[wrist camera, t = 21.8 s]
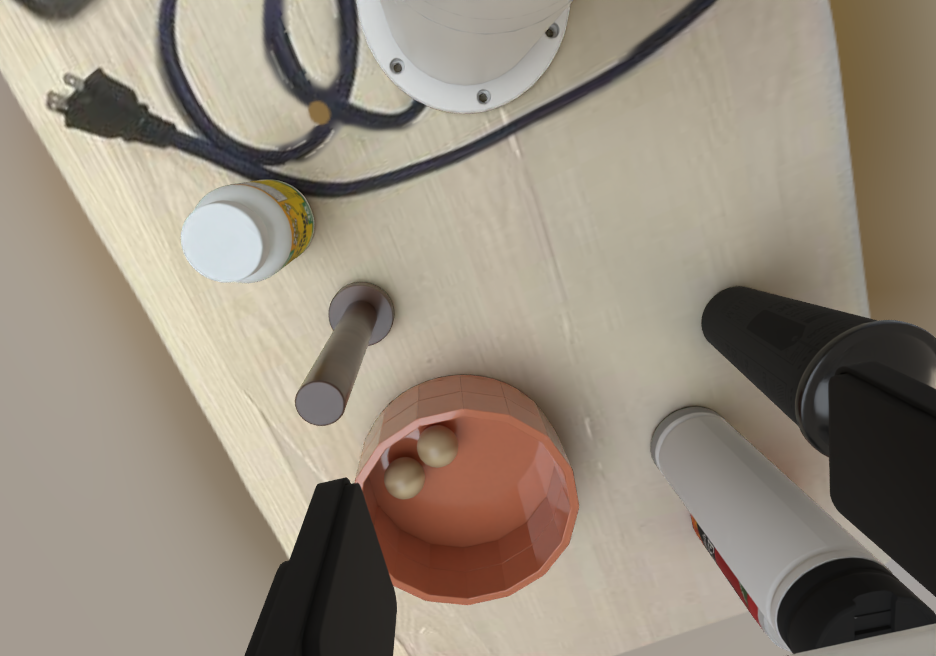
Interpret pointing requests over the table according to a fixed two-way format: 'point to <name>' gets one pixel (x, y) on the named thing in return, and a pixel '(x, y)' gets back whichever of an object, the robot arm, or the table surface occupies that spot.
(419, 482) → the bead
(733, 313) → the drinking cup
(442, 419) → the bowl
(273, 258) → the supplement bottle
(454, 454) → the bead
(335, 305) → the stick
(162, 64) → the table surface
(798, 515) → the travel mug
